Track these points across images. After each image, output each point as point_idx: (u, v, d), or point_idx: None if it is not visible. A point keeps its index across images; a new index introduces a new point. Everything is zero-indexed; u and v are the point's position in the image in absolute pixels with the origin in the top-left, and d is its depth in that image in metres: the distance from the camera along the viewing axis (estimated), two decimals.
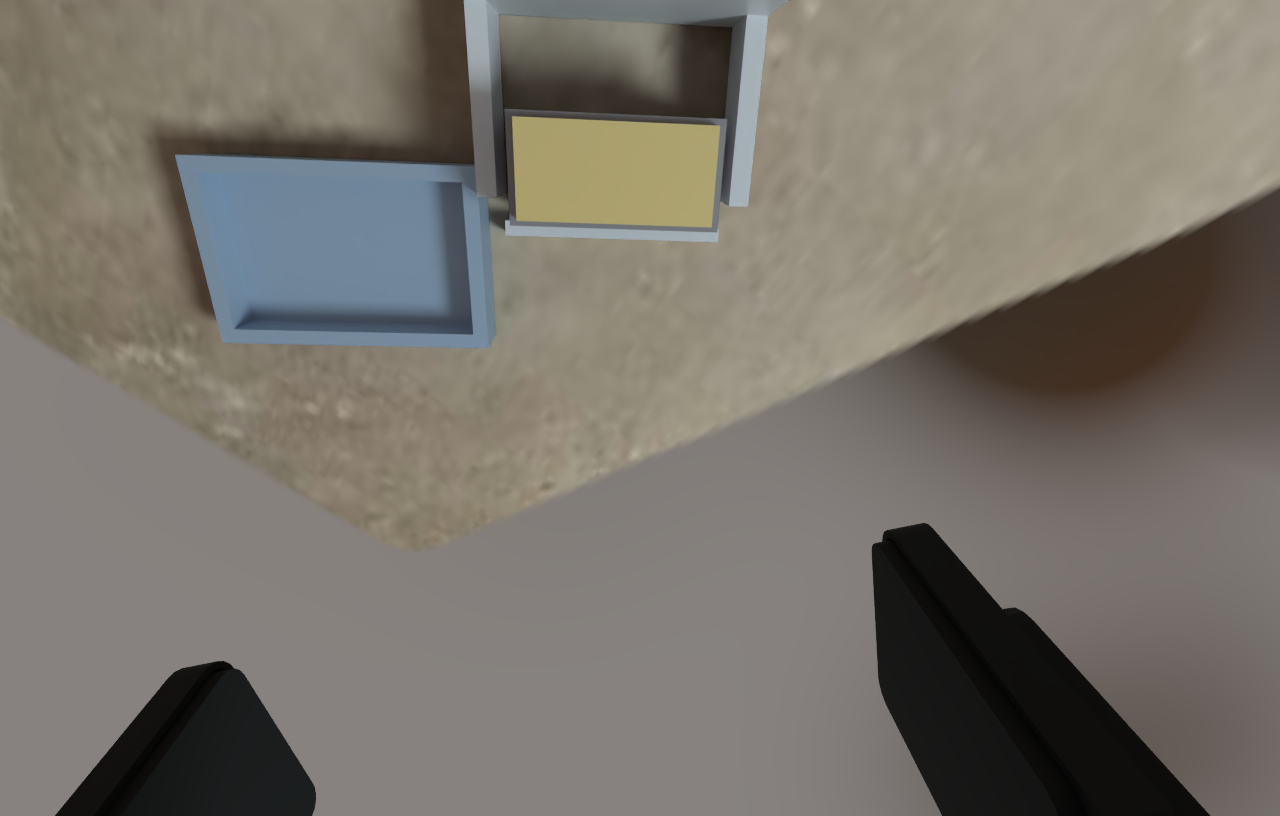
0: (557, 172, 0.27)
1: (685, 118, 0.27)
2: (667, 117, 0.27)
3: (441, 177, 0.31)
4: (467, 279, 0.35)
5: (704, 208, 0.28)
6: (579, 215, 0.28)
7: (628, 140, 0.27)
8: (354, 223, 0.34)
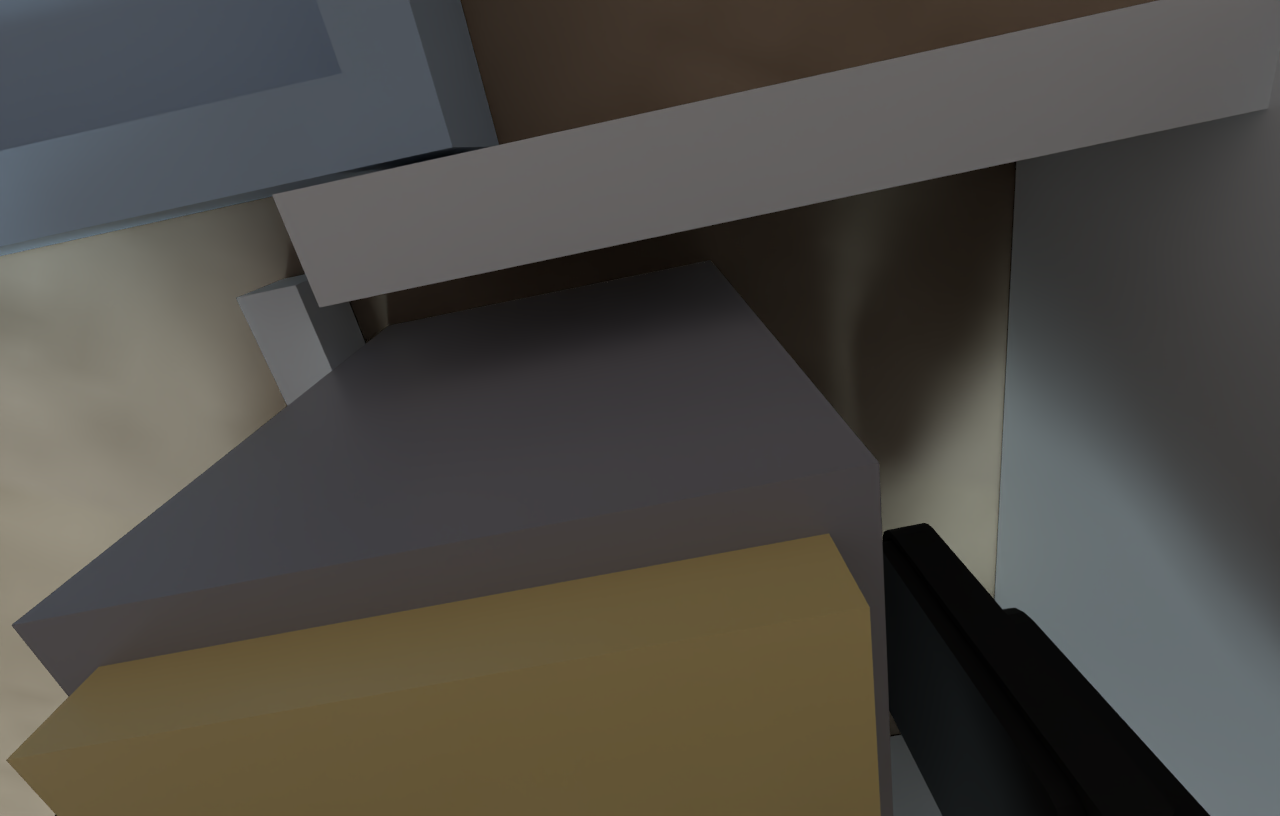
0: None
1: None
2: None
3: None
4: None
5: None
6: None
7: None
8: None
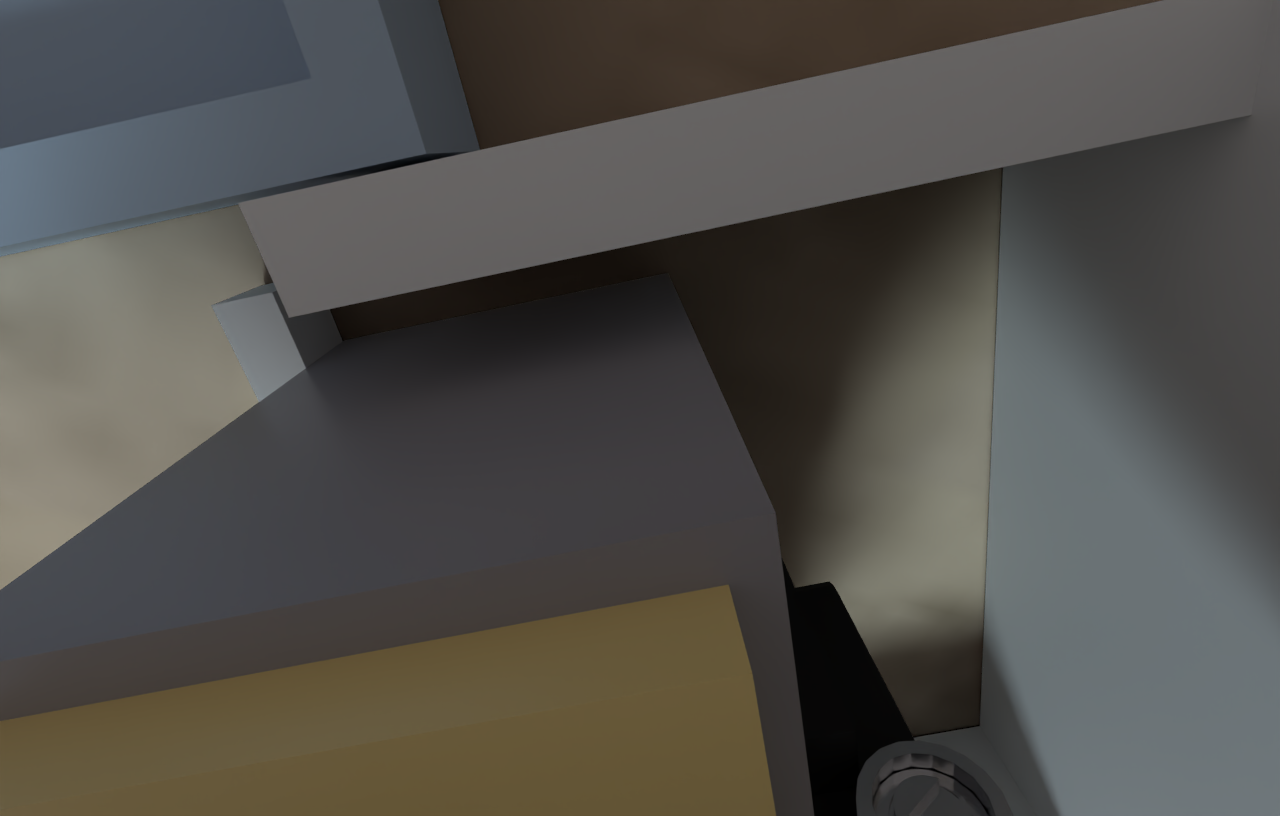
0: None
1: None
2: None
3: None
4: None
5: None
6: None
7: None
8: None
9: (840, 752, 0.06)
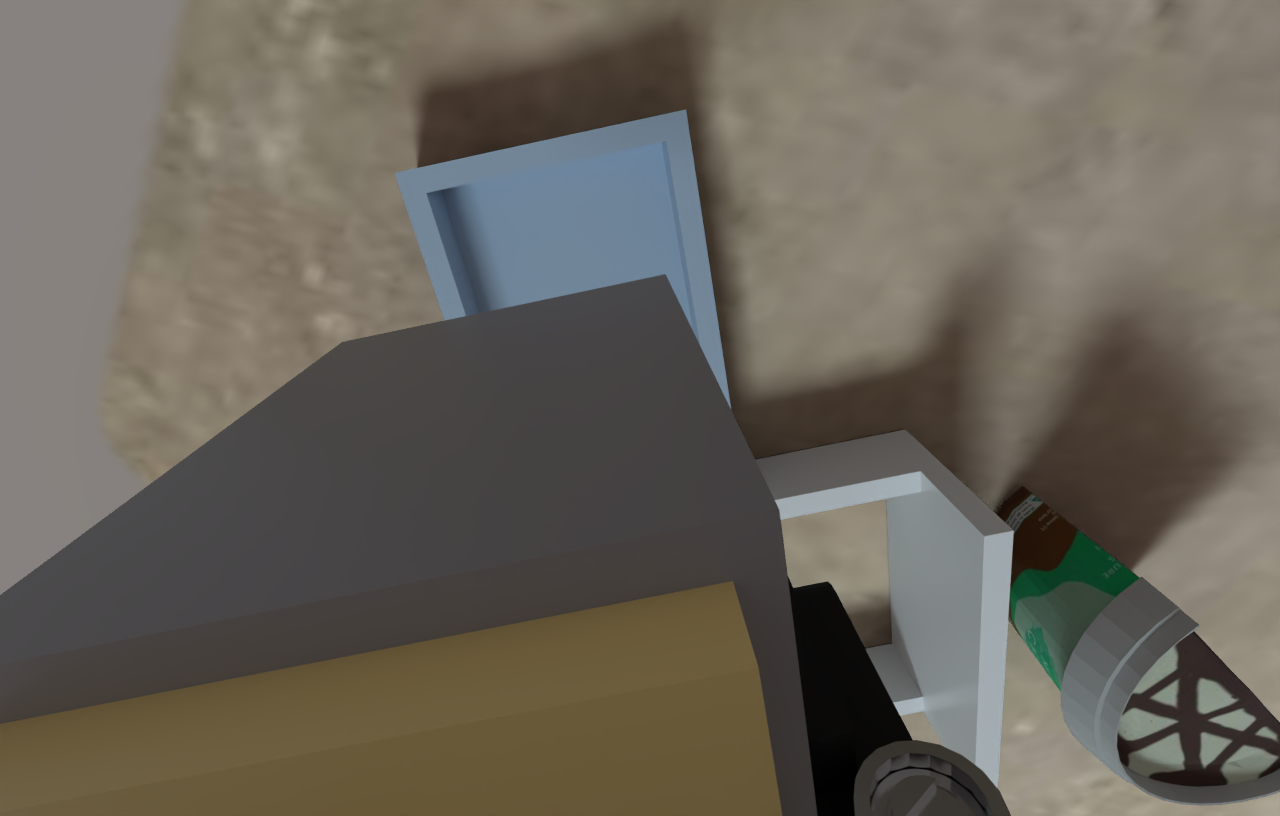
0: None
1: None
2: None
3: None
4: None
5: None
6: None
7: None
8: None
9: (838, 752, 0.06)
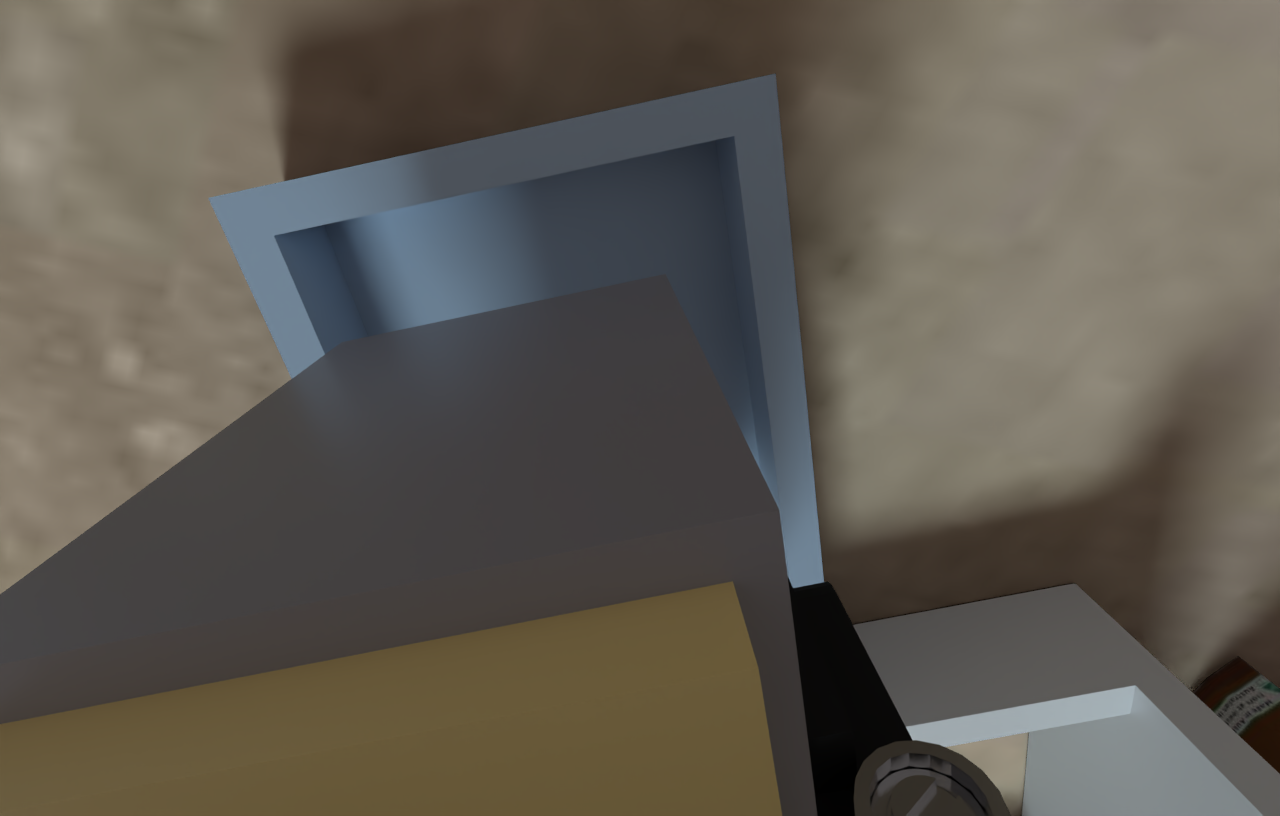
0: None
1: None
2: None
3: None
4: None
5: None
6: None
7: None
8: None
9: (838, 752, 0.06)
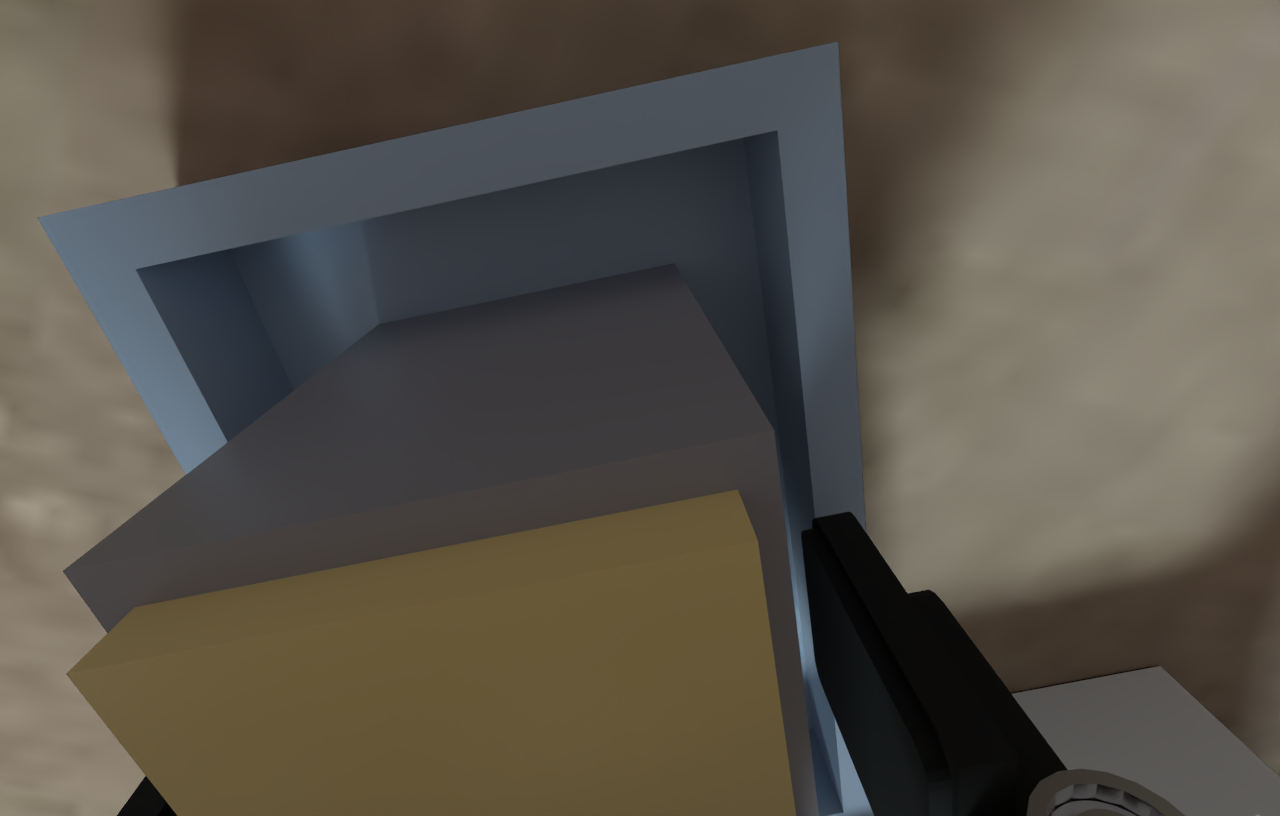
0: (494, 806, 0.04)
1: None
2: None
3: (851, 778, 0.12)
4: None
5: None
6: None
7: None
8: None
9: (998, 782, 0.05)
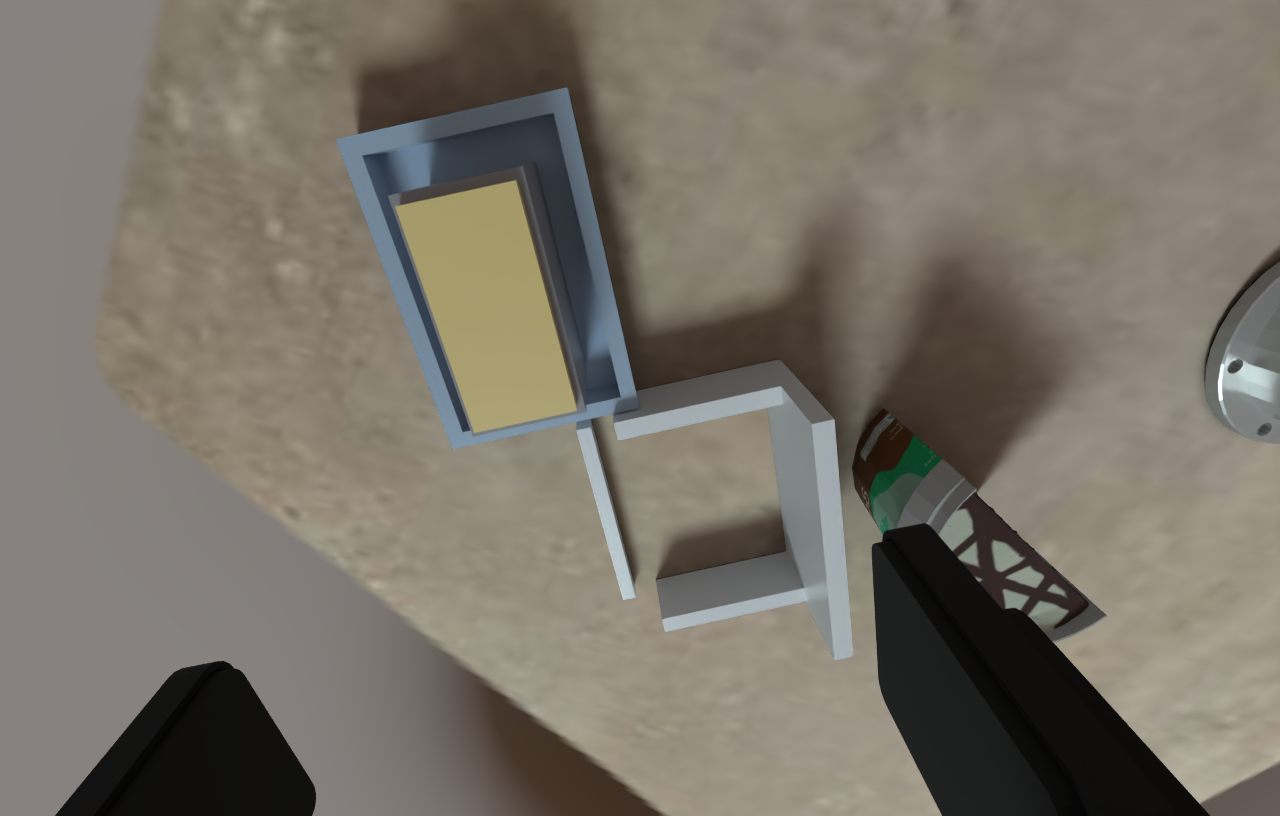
0: (471, 247, 0.22)
1: (574, 371, 0.25)
2: (569, 353, 0.25)
3: (620, 377, 0.30)
4: None
5: (491, 419, 0.25)
6: (431, 285, 0.23)
7: (533, 321, 0.24)
8: None
9: None
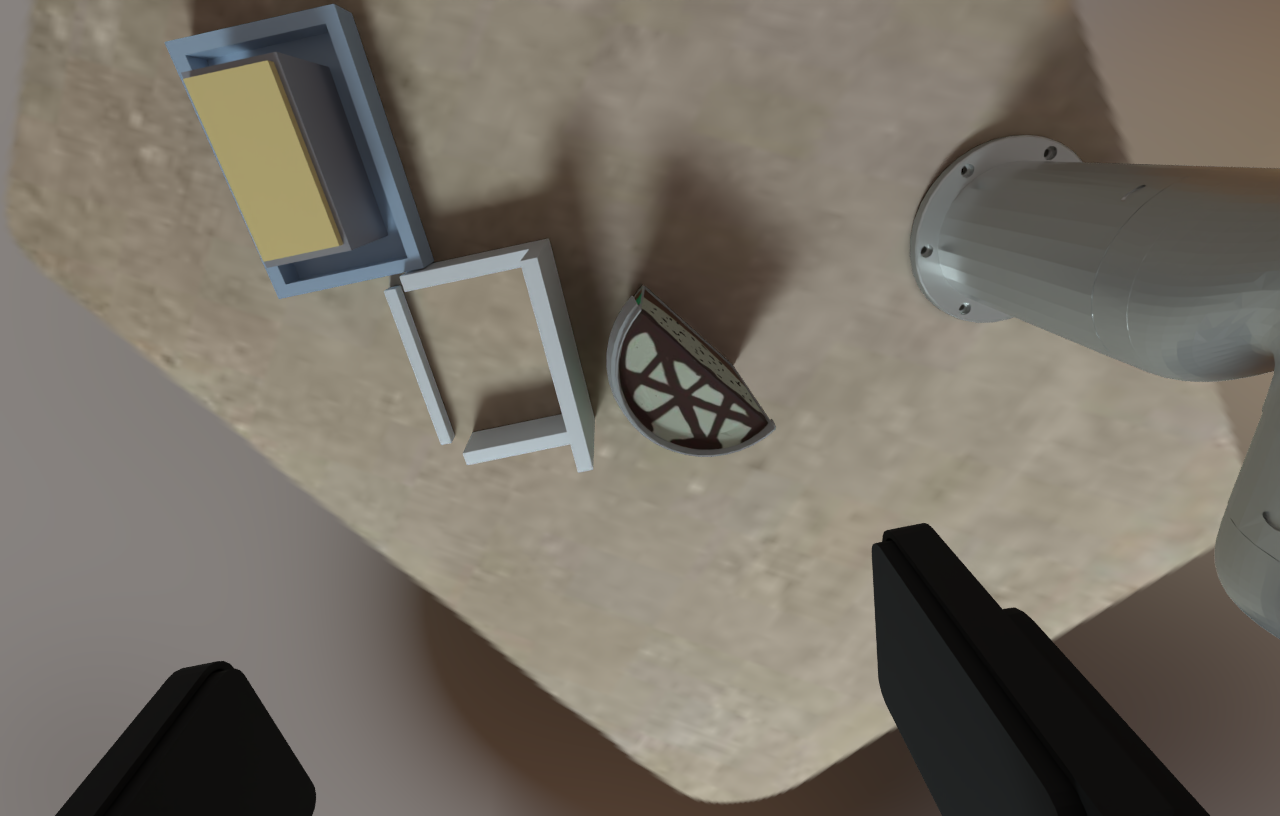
0: (242, 111, 0.31)
1: (337, 216, 0.34)
2: (331, 200, 0.33)
3: (405, 241, 0.39)
4: (335, 262, 0.41)
5: (274, 251, 0.34)
6: (216, 140, 0.31)
7: (295, 171, 0.32)
8: None
9: None
